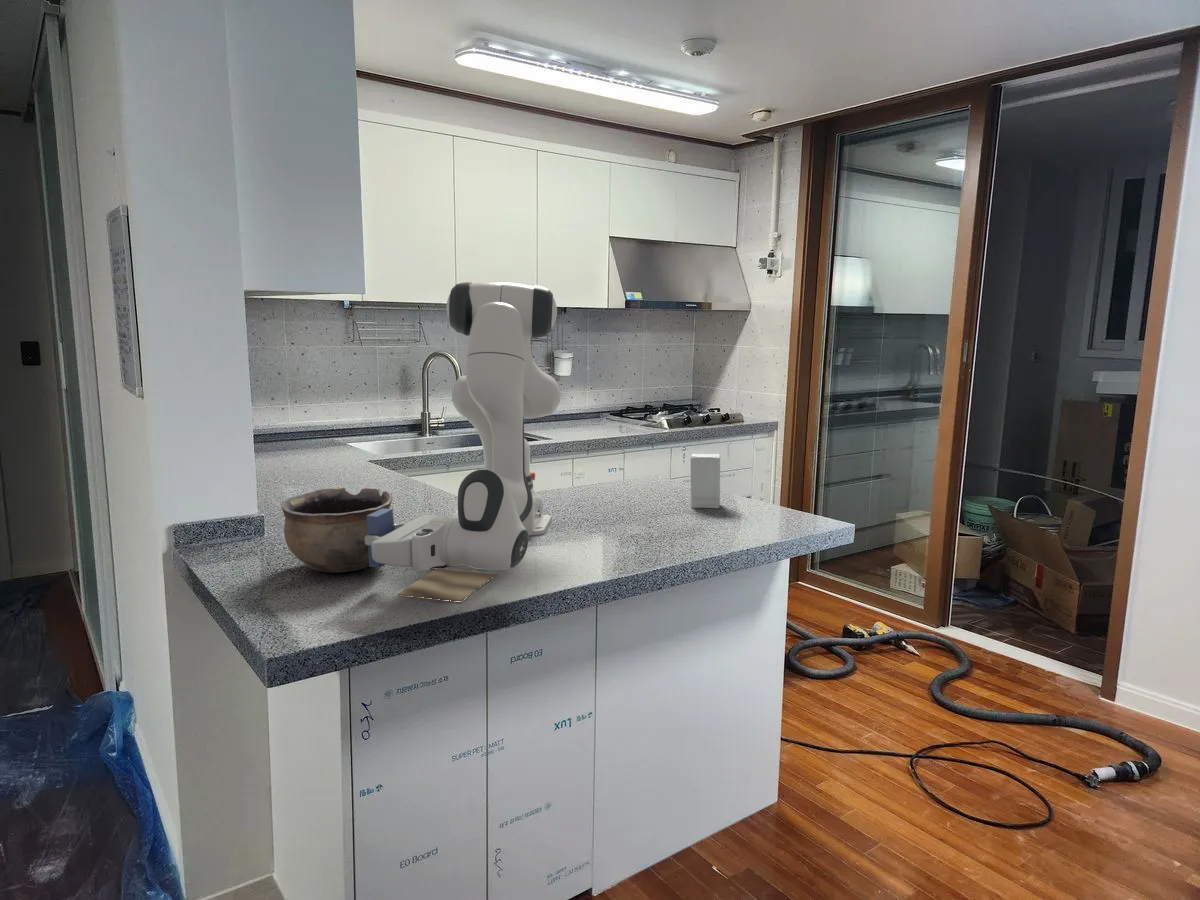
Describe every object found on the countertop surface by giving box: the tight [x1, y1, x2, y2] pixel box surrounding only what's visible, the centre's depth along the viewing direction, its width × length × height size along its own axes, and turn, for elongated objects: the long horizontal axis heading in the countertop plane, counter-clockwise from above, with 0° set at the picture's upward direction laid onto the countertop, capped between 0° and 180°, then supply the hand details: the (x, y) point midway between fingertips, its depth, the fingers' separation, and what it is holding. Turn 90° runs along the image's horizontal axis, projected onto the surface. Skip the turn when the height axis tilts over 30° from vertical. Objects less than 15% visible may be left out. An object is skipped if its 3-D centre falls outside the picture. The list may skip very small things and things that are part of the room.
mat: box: [397, 567, 497, 602], centre depth 150 cm, size 16×13×1 cm
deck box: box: [367, 508, 394, 569], centre depth 146 cm, size 6×2×10 cm, turn 164°
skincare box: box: [690, 453, 721, 509], centre depth 216 cm, size 8×6×15 cm
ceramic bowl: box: [280, 487, 395, 573], centre depth 159 cm, size 22×22×15 cm
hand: (376, 533), depth 147 cm, fingers closed on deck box, 5 cm apart
